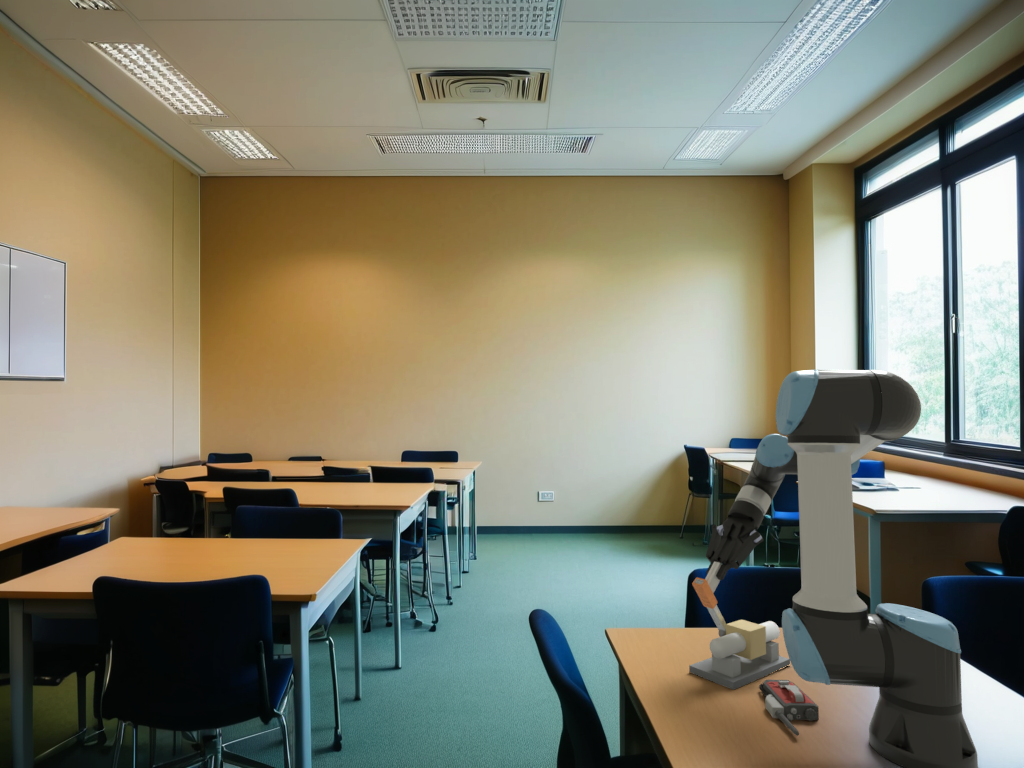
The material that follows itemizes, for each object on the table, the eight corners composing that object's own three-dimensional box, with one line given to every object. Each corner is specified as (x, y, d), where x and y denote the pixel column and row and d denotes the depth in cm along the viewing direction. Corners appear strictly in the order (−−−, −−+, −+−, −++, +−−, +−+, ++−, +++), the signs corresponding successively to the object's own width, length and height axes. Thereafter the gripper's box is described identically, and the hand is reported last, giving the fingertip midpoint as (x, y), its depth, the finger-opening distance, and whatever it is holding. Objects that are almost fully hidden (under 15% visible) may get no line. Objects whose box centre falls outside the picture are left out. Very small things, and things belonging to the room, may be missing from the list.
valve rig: (746, 651, 148) (745, 609, 149) (790, 665, 139) (789, 621, 140) (689, 672, 135) (688, 626, 136) (733, 689, 126) (732, 640, 127)
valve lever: (725, 630, 143) (697, 575, 138) (735, 633, 141) (707, 578, 136) (719, 639, 142) (691, 584, 136) (729, 643, 139) (700, 587, 134)
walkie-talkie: (748, 692, 126) (791, 742, 106) (748, 670, 127) (790, 715, 107) (791, 693, 126) (842, 743, 106) (791, 671, 126) (841, 716, 106)
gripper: (780, 522, 145) (740, 606, 134) (732, 515, 156) (691, 592, 145) (767, 501, 142) (725, 585, 131) (719, 496, 153) (676, 572, 142)
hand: (707, 588), depth 138 cm, fingers closed
